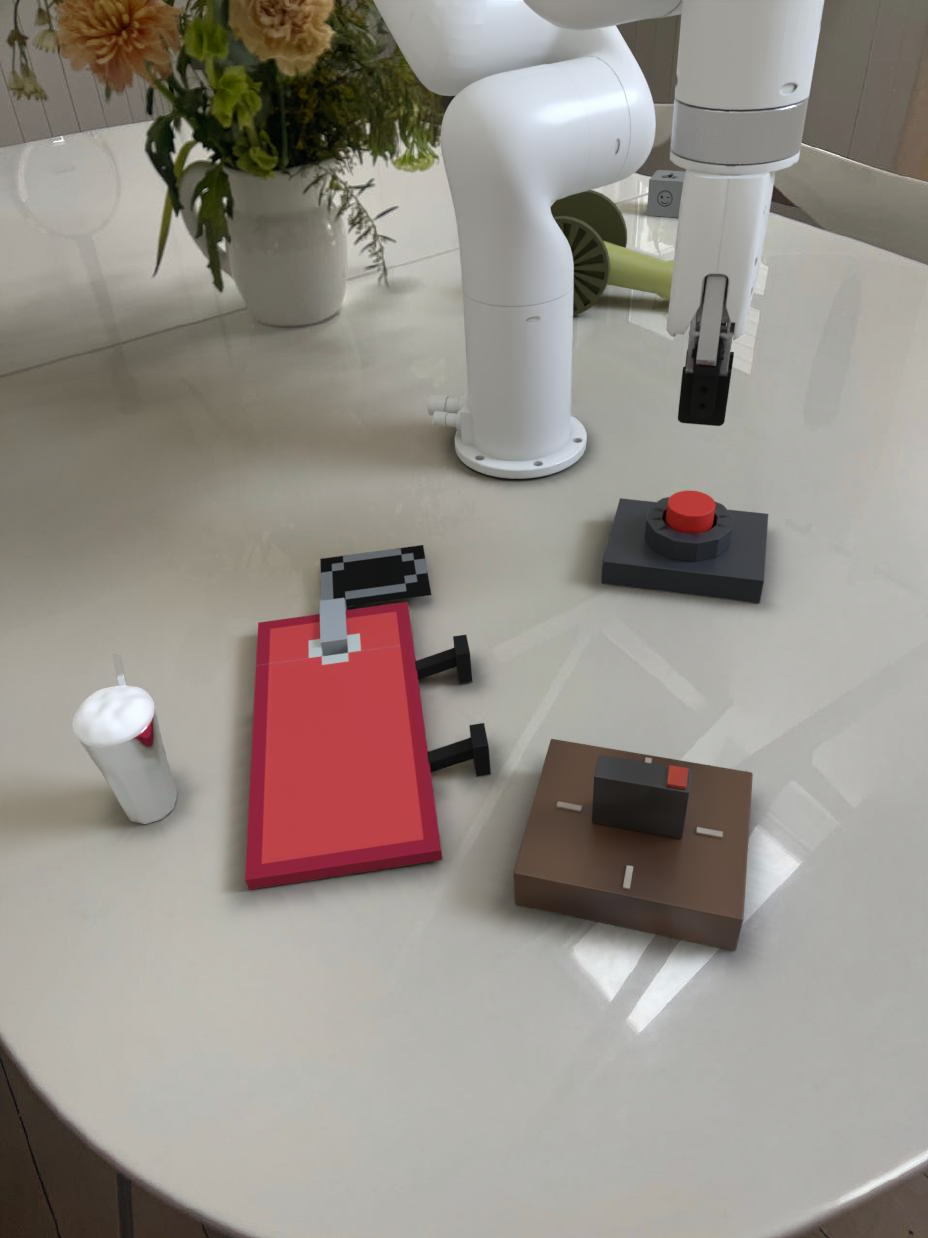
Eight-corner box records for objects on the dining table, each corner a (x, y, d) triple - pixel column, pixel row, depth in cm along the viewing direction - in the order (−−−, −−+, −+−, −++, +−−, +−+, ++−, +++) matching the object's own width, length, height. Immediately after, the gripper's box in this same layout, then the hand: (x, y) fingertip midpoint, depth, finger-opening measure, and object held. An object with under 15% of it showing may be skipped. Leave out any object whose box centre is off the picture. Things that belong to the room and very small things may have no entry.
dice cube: (646, 215, 140) (649, 179, 137) (655, 204, 143) (657, 169, 140) (680, 217, 138) (683, 181, 135) (687, 207, 142) (691, 171, 138)
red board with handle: (446, 550, 78) (264, 575, 77) (443, 522, 76) (257, 548, 75) (506, 854, 55) (250, 894, 54) (504, 825, 53) (239, 866, 53)
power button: (663, 532, 73) (664, 513, 71) (668, 506, 75) (670, 487, 74) (711, 537, 72) (713, 518, 71) (714, 511, 74) (717, 492, 73)
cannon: (728, 291, 117) (741, 194, 109) (716, 330, 108) (728, 228, 101) (533, 277, 124) (532, 185, 116) (507, 313, 115) (504, 216, 108)
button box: (601, 583, 74) (603, 542, 71) (618, 519, 81) (620, 479, 78) (759, 603, 71) (767, 561, 69) (764, 535, 78) (772, 494, 75)
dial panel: (514, 904, 53) (513, 871, 51) (550, 770, 60) (550, 736, 58) (735, 952, 50) (744, 918, 48) (745, 804, 57) (753, 770, 55)
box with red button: (591, 822, 53) (594, 773, 50) (596, 800, 54) (598, 751, 51) (682, 839, 52) (689, 789, 49) (684, 816, 53) (692, 766, 50)
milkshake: (196, 764, 62) (155, 651, 55) (180, 831, 58) (134, 717, 51) (127, 768, 62) (78, 656, 55) (106, 835, 58) (51, 722, 51)
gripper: (685, 98, 62) (662, 360, 74) (655, 168, 51) (634, 465, 63) (804, 99, 60) (761, 367, 72) (802, 171, 49) (751, 476, 61)
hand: (702, 411), depth 67 cm, fingers closed
